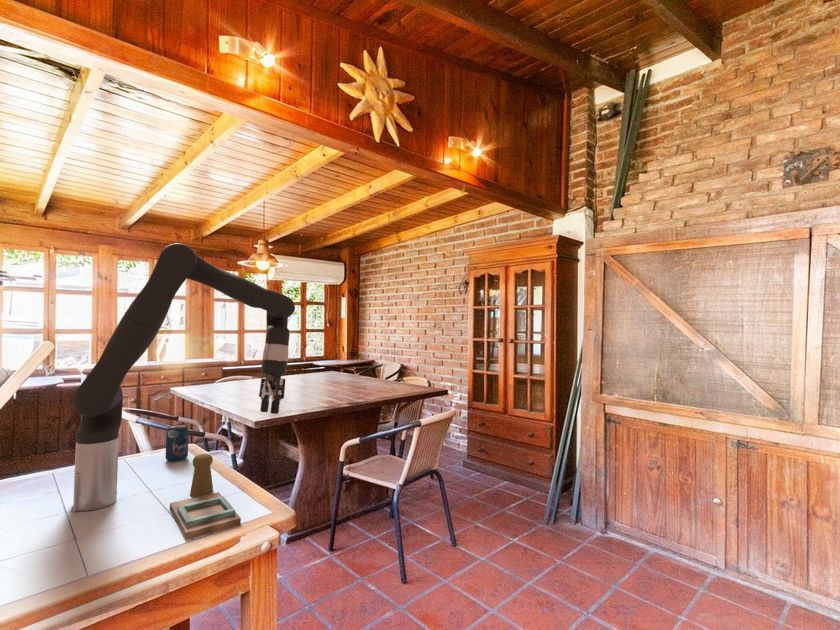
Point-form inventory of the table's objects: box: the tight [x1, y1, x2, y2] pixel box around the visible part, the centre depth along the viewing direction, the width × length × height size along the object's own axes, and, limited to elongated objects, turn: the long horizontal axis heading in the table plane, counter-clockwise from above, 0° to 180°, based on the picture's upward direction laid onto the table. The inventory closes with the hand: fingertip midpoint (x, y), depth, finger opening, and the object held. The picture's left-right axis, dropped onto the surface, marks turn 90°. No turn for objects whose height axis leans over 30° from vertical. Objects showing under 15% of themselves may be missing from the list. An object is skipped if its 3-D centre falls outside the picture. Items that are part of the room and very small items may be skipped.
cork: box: [189, 453, 214, 498], centre depth 122 cm, size 6×6×11 cm
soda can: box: [165, 423, 190, 463], centre depth 151 cm, size 7×7×12 cm
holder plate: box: [169, 491, 242, 540], centre depth 108 cm, size 12×20×3 cm, turn 39°
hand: (269, 412), depth 129 cm, fingers open, 8 cm apart
